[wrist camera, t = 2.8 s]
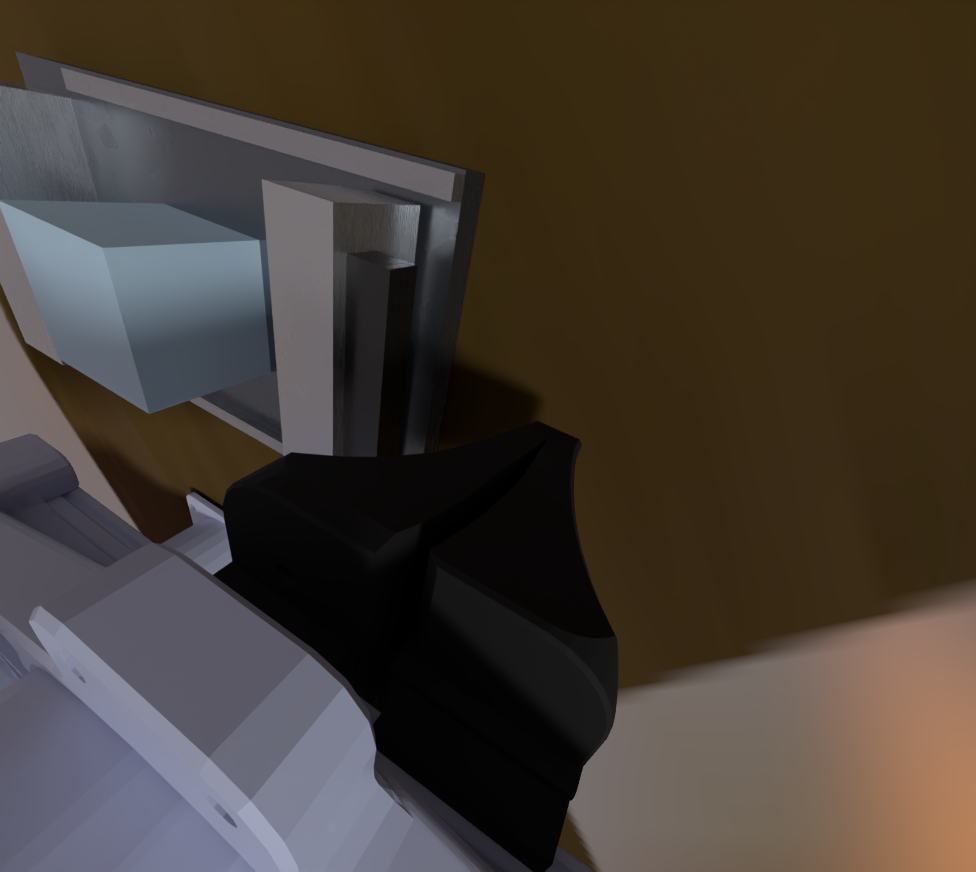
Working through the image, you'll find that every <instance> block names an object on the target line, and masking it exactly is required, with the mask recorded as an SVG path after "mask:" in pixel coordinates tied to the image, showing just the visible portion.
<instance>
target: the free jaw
mask: <svg viewBox="0 0 976 872" xmlns="http://www.w3.org/2000/svg"><path fill="white" fill-rule="evenodd" d="M262 190H263V202H264V215H265V228H266V240H267V253H268V265H269V278H270V291H271V303H272V316H273V328H274V341H275V354H276V366H277V379H278V391H279V404H280V417H281V429H282V442H283V454H284V456H285V455H287V454H289V453H291V452H296V453H306V454H319V455H331V456H350V457H381V456H397V454H398V445H399V435H400V426H401V417H402V408H403V398H404V389H405V380H406V370H407V361H408V352H409V343H410V333H411V324H412V315H413V306H414V296H415V287H416V278H417V268H418V265H416V264H414V262H415V252H416V242H417V233H418V223H419V213H420V205H417V204H414V203H410V202H407V201H404V200H400V199H397V198H394V197H390V196H387V195H384V194H381V193H377V192H374V191H371V190H367V189H364V188H361V187H352V186H340V185H327V184H315V183H303V182H290V181H278V180H266V179H262Z"/></svg>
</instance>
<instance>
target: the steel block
mask: <svg viewBox="0 0 976 872" xmlns="http://www.w3.org/2000/svg"><path fill="white" fill-rule="evenodd" d="M0 208H1V211H2V213H3V216H4V218H5V221H6V224H7V226H8V229H9V231H10V234H11V236H12V239H13V242H14V244H15V247H16V249H17V252H18V255H19V257H20V260H21V262H22V265H23V267H24V270H25V273H26V275H27V278H28V280H29V283H30V285H31V288H32V291H33V293H34V296H35V298H36V301H37V304H38V306H39V309H40V311H41V314H42V316H43V319H44V322H45V324H46V327H47V329H48V332H49V335H50V337H51V340H52V342H53V345H54V347H55V350H56V353H57V355H58V358H59V359H60V360H62V361H63V362H65V363H67V364H68V365H70V366H72V367H73V368H75V369H77V370H78V371H80V372H81V373H83V374H85V375H86V376H88V377H90V378H91V379H93V380H94V381H96V382H98V383H99V384H101V385H103V386H104V387H106V388H107V389H109V390H111V391H112V392H114V393H116V394H117V395H119V396H121V397H122V398H124V399H125V400H127V401H129V402H130V403H132V404H134V405H135V406H137V407H138V408H140V409H142V410H143V411H145V412H147V413H148V414H151V413H154V412H157V411H160V410H163V409H165V408H168V407H171V406H174V405H177V404H180V403H183V402H186V401H189V400H192V399H195V398H198V397H201V396H204V395H207V394H210V393H212V392H215V391H218V390H221V389H224V388H227V387H230V386H233V385H236V384H239V383H242V382H245V381H248V380H251V379H254V378H256V377H259V376H262V375H265V374H268V373H271V368H270V356H269V345H268V334H267V322H266V311H265V300H264V288H263V277H262V266H261V254H260V243H259V240H257V239H255V238H252V237H250V236H247V235H244V234H242V233H239V232H237V231H234V230H231V229H229V228H226V227H223V226H221V225H218V224H216V223H213V222H210V221H208V220H205V219H203V218H200V217H197V216H195V215H192V214H189V213H187V212H184V211H182V210H179V209H176V208H174V207H171V206H169V205H166V204H156V203H114V202H72V201H30V200H0Z"/></svg>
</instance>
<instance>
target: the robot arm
mask: <svg viewBox="0 0 976 872" xmlns="http://www.w3.org/2000/svg"><path fill="white" fill-rule="evenodd" d="M581 446H582V444H581V442H580V439H577V438H575V437H573V436H570V435H568V434H566V433H564V432H561V431H559V430H557V429H555V428H552V427H550V426H548V425H545V424H543V423H541V422H539V421H537V422H534V423H531V424H528V425H525V426H523V427H520V428H517V429H515V430H512V431H509V432H507V433H504V434H501V435H498V436H495V437H492V438H489V439H486V440H482V441H479V442H475V443H472V444H468V445H464V446H461V447H456V448H452V449H447V450H441V451H435V452H429V453H421V454H410V455H398V456H381V457H350V456H331V455H319V454H306V453H296V452H291V453H289V454H287V455H285V456H283V457H281V458H279V459H277V460H276V461H274V462H272V463H270V464H268V465H266V466H264V467H263V468H261V469H259V470H257V471H255V472H253V473H251V474H250V475H248V476H246V477H244V478H242V479H240V480H238V481H237V482H235V483H233V484H232V485H231V486H230V487H229V488H228V489H227V491H226V494H225V498H224V502H223V511H222V510H221V509H219V508H218V507H216V506H215V505H213V504H212V503H210V502H209V501H207V500H206V499H204V498H203V497H201V496H200V495H198V494H197V493H195V492H192V493H190V494H188V495H187V502H188V506H189V510H190V514H191V518H192V521H193V526H191V527H189V528H188V529H186V530H184V531H182V532H181V533H179V534H177V535H175V536H174V537H172V538H170V539H168V540H167V541H165V542H163V543H162V544H158V543H153V542H152V541H151V540H149V539H148V538H146V537H145V536H144V535H142V534H141V533H140V532H138V531H137V530H136V529H134V528H133V527H132V526H130V525H129V524H128V523H126V522H125V521H124V520H122V519H121V518H120V517H118V516H117V515H116V514H114V513H113V512H112V511H110V510H109V509H108V508H106V507H105V506H104V505H102V504H101V503H100V502H98V501H97V500H96V499H94V498H93V497H91V496H90V495H89V494H87V493H86V492H85V491H84V490H82V489H81V488H79V487H78V485H79V482H78V479H77V476H76V474H75V472H74V469H73V468H72V466H71V464H70V463H69V461H68V460H67V459H66V457H64V456H63V455H62V454H61V453H60V452H59V451H58V450H56V449H55V448H53V447H52V446H51V445H49V444H48V443H46V442H45V441H44V440H42V439H41V438H40V437H38V436H37V435H34V434H27V435H24V436H21V437H18V438H14V439H11V440H8V441H5V442H2V443H0V872H594V871H592V870H591V869H590V868H588V867H587V866H586V865H584V864H583V863H582V862H580V861H579V860H578V859H576V858H575V857H573V856H572V855H571V854H569V853H568V852H567V851H565V850H564V849H563V848H561V847H560V846H559V845H558V842H559V838H560V835H561V831H562V827H563V824H564V820H565V816H566V813H567V809H568V805H569V801H570V800H572V799H573V798H574V796H575V794H576V791H577V788H578V784H579V780H580V776H581V772H582V769H583V766H584V765H585V764H586V763H587V761H588V760H589V759H590V758H591V757H592V756H593V754H594V753H595V752H596V751H597V750H598V748H599V747H600V746H601V745H602V744H603V743H604V741H605V740H606V739H607V737H608V735H609V733H610V731H611V729H612V726H613V723H614V718H615V713H616V704H617V692H618V645H617V638H616V636H615V634H614V632H613V630H612V628H611V626H610V624H609V622H608V620H607V618H606V616H605V613H604V611H603V609H602V607H601V605H600V603H599V600H598V597H597V595H596V592H595V590H594V587H593V585H592V582H591V579H590V576H589V572H588V569H587V566H586V563H585V559H584V556H583V553H582V549H581V545H580V540H579V535H578V530H577V524H576V517H575V508H574V470H575V463H576V458H577V456H578V453H579V451H580V448H581Z"/></svg>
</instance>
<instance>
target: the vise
mask: <svg viewBox="0 0 976 872" xmlns="http://www.w3.org/2000/svg"><path fill="white" fill-rule="evenodd" d="M15 52H16V51H15ZM16 55H17V58H18V62H19V65H20V68H21V71H22V74H23V78H24V81H25V84H26V85H23V84H18V83H13V82H7V81H2V80H0V200H30V201H72V202H114V203H156V204H166V205H169V206H171V207H174V208H176V209H179V210H182V211H184V212H187V213H189V214H192V215H195V216H197V217H200V218H203V219H205V220H208V221H210V222H213V223H216V224H218V225H221V226H223V227H226V228H229V229H231V230H234V231H237V232H239V233H242V234H244V235H247V236H250V237H252V238H255V239H257V240H259V243H260V254H261V266H262V277H263V288H264V300H265V311H266V322H267V334H268V345H269V356H270V368H271V373H268V374H265V375H262V376H259V377H256V378H254V379H251V380H248V381H245V382H242V383H239V384H236V385H233V386H230V387H227V388H224V389H221V390H218V391H215V392H212V393H210V394H207V395H204V396H201V397H198V398H195V399H192V400H189V401H191V402H192V403H194V404H196V405H198V406H199V407H201V408H203V409H205V410H206V411H208V412H210V413H212V414H213V415H215V416H217V417H218V418H220V419H222V420H224V421H225V422H227V423H229V424H231V425H232V426H234V427H236V428H238V429H239V430H241V431H243V432H245V433H246V434H248V435H250V436H252V437H253V438H255V439H257V440H259V441H260V442H262V443H264V444H266V445H267V446H269V447H271V448H272V449H274V450H276V451H278V452H279V453H281V454H283V442H282V429H281V417H280V404H279V391H278V379H277V366H276V354H275V341H274V328H273V316H272V303H271V291H270V278H269V265H268V253H267V240H266V228H265V215H264V202H263V190H262V179H266V180H278V181H290V182H303V183H315V184H327V185H340V186H352V187H361V188H364V189H367V190H371V191H374V192H377V193H381V194H384V195H387V196H390V197H394V198H397V199H400V200H404V201H407V202H410V203H414V204H417V205H420V213H419V223H418V233H417V242H416V252H415V262H414V264H416V265H418V268H417V278H416V287H415V296H414V306H413V315H412V324H411V333H410V343H409V352H408V361H407V370H406V380H405V389H404V398H403V408H402V417H401V426H400V435H399V445H398V454H397V456H398V455H410V454H421V453H429V452H435V451H437V450H438V444H439V438H440V432H441V427H442V421H443V415H444V409H445V403H446V397H447V392H448V386H449V380H450V374H451V368H452V363H453V357H454V351H455V345H456V339H457V334H458V328H459V322H460V316H461V310H462V305H463V299H464V293H465V287H466V281H467V275H468V270H469V264H470V258H471V252H472V246H473V241H474V235H475V229H476V223H477V217H478V212H479V206H480V200H481V194H482V188H483V183H484V177H485V173H481V172H477V171H474V170H470V169H466V168H462V167H458V166H455V165H451V164H447V163H443V162H439V161H435V160H432V159H428V158H424V157H420V156H416V155H413V154H409V153H405V152H401V151H397V150H393V149H390V148H386V147H382V146H378V145H374V144H371V143H367V142H363V141H359V140H355V139H351V138H348V137H344V136H340V135H336V134H332V133H329V132H325V131H321V130H317V129H313V128H309V127H306V126H302V125H298V124H294V123H290V122H287V121H283V120H279V119H275V118H271V117H268V116H264V115H260V114H256V113H252V112H248V111H245V110H241V109H237V108H233V107H229V106H226V105H222V104H218V103H214V102H210V101H206V100H203V99H199V98H195V97H191V96H187V95H184V94H180V93H176V92H172V91H168V90H164V89H161V88H157V87H153V86H149V85H145V84H142V83H138V82H134V81H130V80H126V79H122V78H119V77H115V76H111V75H107V74H103V73H100V72H96V71H92V70H88V69H84V68H80V67H77V66H73V65H69V64H65V63H61V62H58V61H54V60H50V59H46V58H41V57H37V56H33V55H29V54H24V53H20V52H16ZM0 283H1V285H2V288H3V290H4V292H5V295H6V297H7V299H8V302H9V304H10V306H11V309H12V311H13V313H14V316H15V318H16V321H17V323H18V325H19V328H20V330H21V332H22V335H23V337H24V339H25V342H26V343H28V344H29V345H31V346H33V347H34V348H36V349H37V350H39V351H41V352H42V353H44V354H46V355H47V356H49V357H50V358H52V359H54V360H55V361H57V362H58V363H60V364H62V365H67V363H65V362H63V361H62V360H60V359H59V358H58V355H57V353H56V350H55V347H54V345H53V342H52V340H51V337H50V335H49V332H48V329H47V327H46V324H45V322H44V319H43V316H42V314H41V311H40V309H39V306H38V304H37V301H36V298H35V296H34V293H33V291H32V288H31V285H30V283H29V280H28V278H27V275H26V273H25V270H24V267H23V265H22V262H21V260H20V257H19V255H18V252H17V249H16V247H15V244H14V242H13V239H12V236H11V234H10V231H9V229H8V226H7V224H6V221H5V218H4V216H3V213H2V211H1V208H0ZM283 455H284V454H283Z"/></svg>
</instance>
